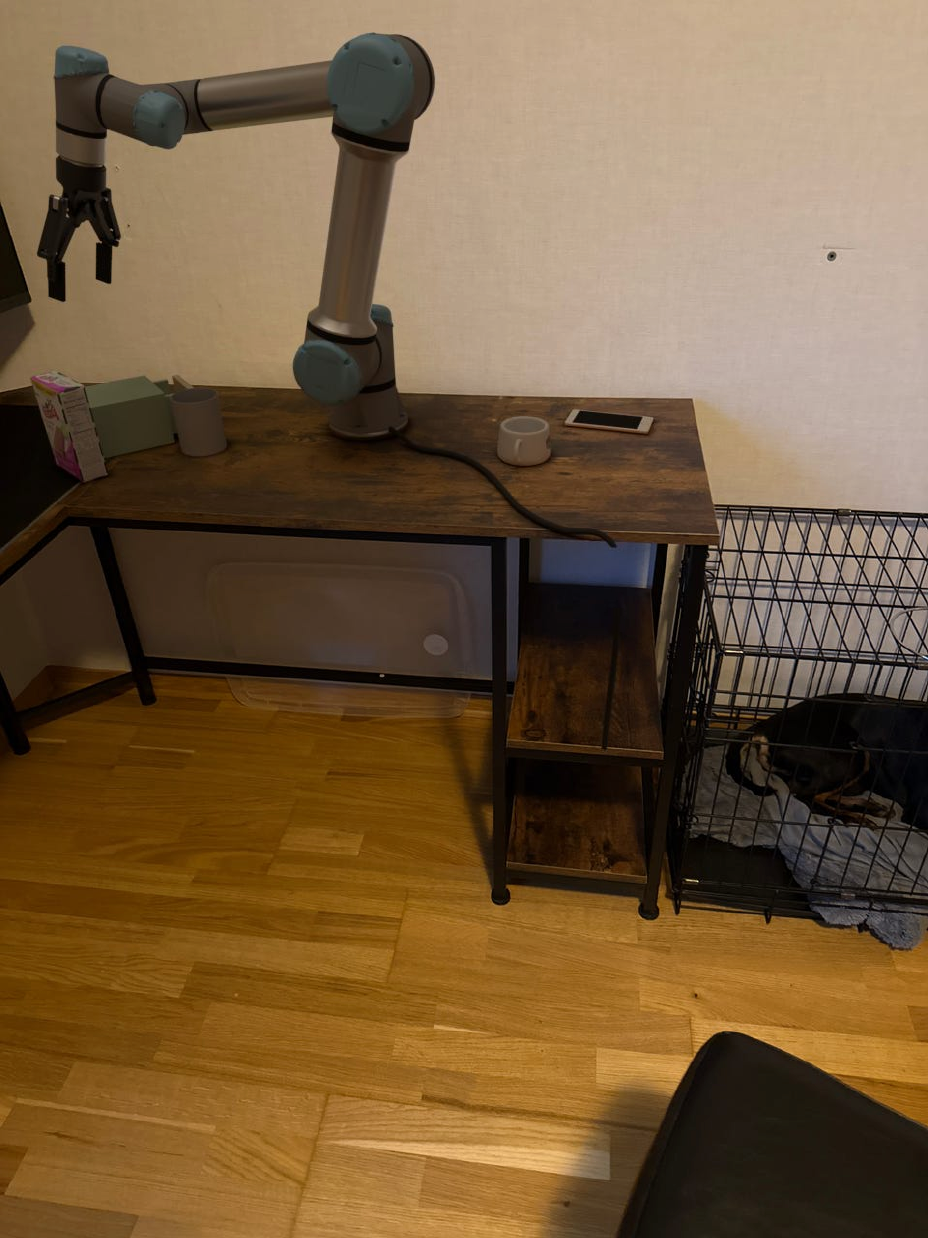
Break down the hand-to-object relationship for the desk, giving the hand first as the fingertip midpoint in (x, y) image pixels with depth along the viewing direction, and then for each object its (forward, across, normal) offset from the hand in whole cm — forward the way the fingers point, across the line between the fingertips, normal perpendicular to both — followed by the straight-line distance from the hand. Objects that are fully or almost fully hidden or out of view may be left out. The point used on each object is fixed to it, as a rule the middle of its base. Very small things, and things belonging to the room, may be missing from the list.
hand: (81, 289), depth 152 cm
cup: (+20, +2, +26) cm, 34 cm away
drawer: (+22, -5, +16) cm, 28 cm away
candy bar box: (+25, +16, +11) cm, 32 cm away
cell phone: (0, -25, +96) cm, 99 cm away
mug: (+4, -5, +83) cm, 83 cm away
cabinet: (+25, +2, +11) cm, 27 cm away
